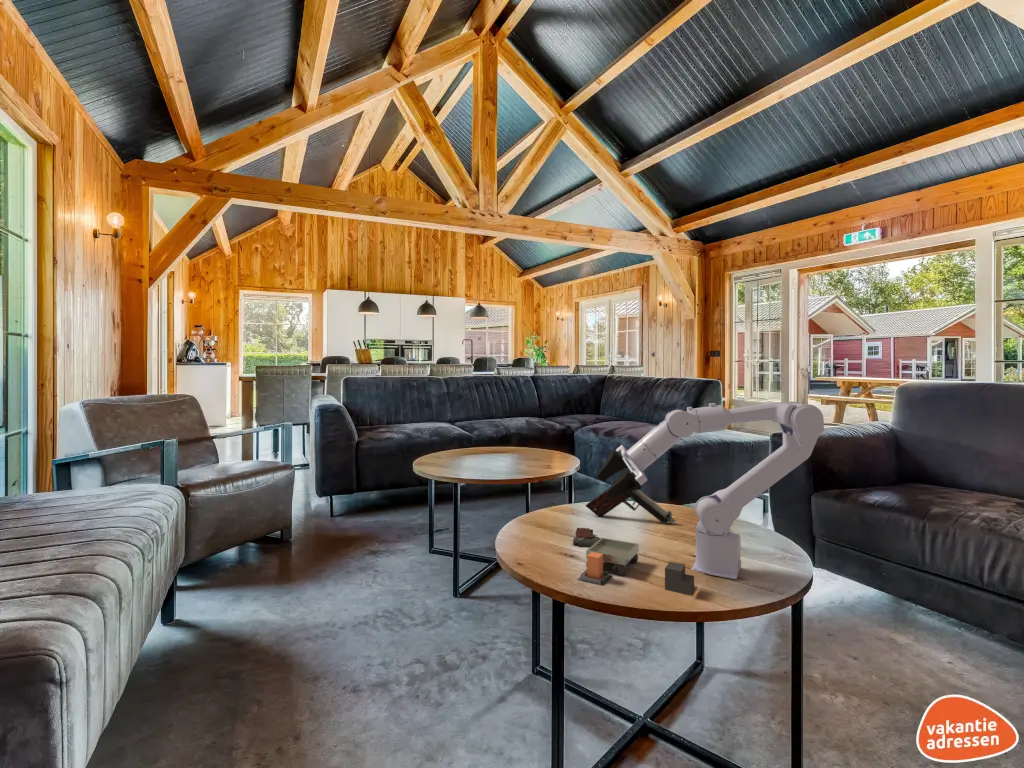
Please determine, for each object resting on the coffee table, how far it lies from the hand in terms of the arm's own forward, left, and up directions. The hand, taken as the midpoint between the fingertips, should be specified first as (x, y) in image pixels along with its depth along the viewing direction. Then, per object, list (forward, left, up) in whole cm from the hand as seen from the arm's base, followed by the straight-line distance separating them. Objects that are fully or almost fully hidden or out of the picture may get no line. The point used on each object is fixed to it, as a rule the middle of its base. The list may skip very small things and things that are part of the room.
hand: (604, 486), depth 120 cm
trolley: (-3, +2, -18) cm, 18 cm away
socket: (-2, +10, -18) cm, 21 cm away
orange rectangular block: (-2, +10, -18) cm, 20 cm away
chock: (-19, +7, -18) cm, 27 cm away
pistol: (+5, -13, -19) cm, 24 cm away
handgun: (+5, -36, -18) cm, 41 cm away
